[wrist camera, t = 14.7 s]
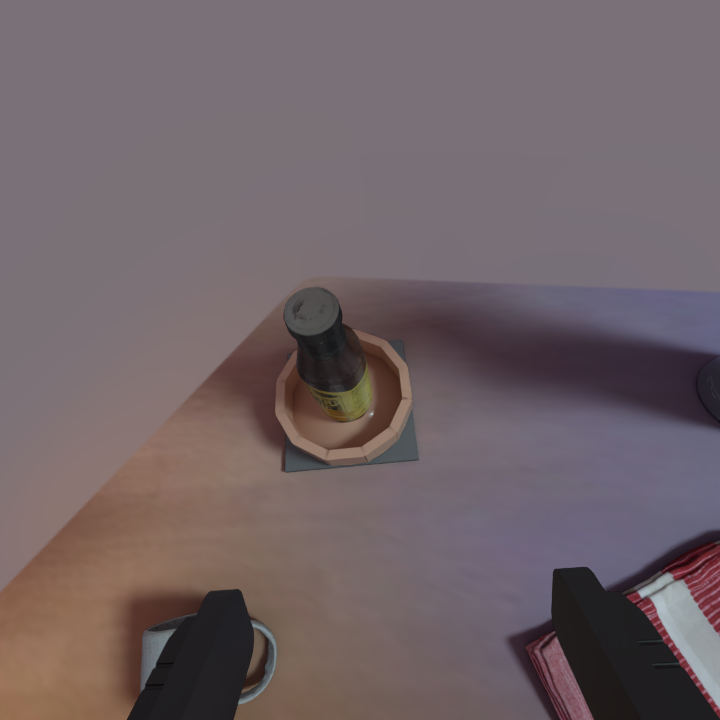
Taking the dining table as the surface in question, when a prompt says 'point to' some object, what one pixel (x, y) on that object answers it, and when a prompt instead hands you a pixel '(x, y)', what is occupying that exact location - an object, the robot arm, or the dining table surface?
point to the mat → (396, 453)
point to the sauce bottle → (328, 355)
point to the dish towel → (671, 619)
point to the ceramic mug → (162, 631)
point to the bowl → (358, 436)
